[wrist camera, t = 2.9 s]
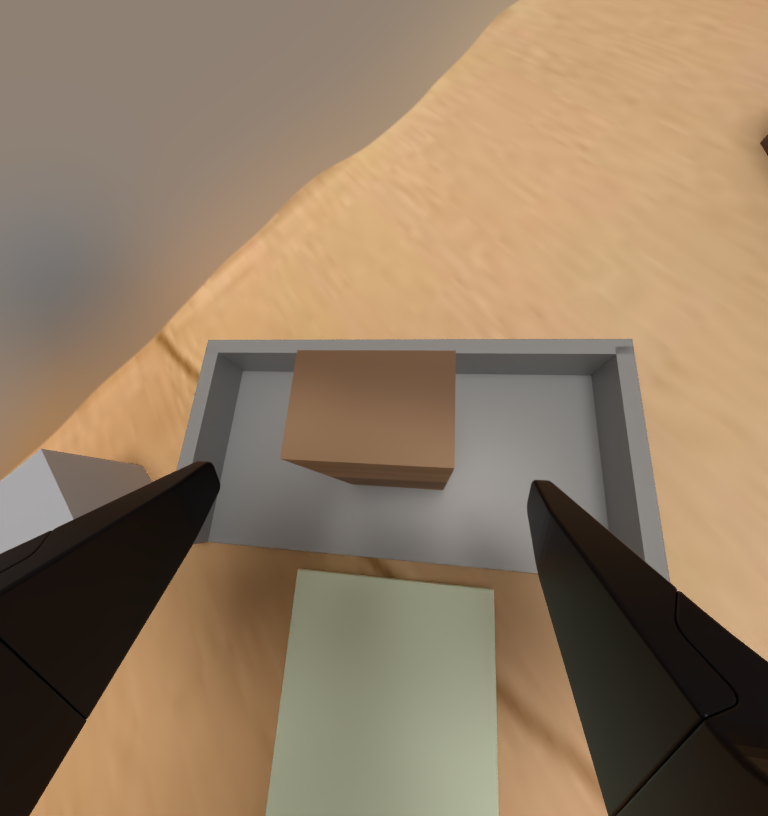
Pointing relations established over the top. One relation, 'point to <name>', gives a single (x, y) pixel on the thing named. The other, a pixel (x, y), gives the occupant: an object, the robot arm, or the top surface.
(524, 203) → the top surface
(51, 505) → the greyblue box
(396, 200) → the top surface
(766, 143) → the model house
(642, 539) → the parts tray
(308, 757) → the pad
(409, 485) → the walnut box
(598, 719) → the robot arm
